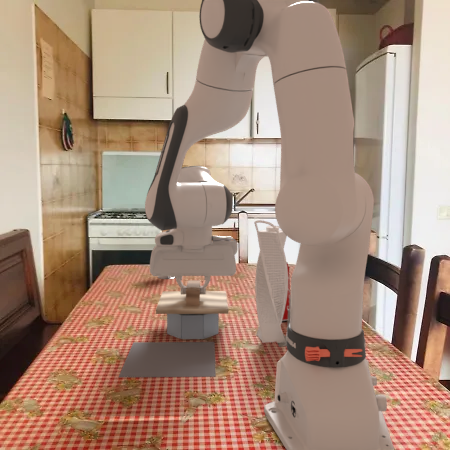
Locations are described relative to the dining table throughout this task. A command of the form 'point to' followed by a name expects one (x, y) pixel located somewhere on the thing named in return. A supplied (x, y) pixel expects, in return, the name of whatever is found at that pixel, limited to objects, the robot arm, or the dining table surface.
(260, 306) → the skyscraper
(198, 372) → the rubber mat
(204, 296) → the cover board
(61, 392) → the dining table surface
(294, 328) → the robot arm
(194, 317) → the bowl
